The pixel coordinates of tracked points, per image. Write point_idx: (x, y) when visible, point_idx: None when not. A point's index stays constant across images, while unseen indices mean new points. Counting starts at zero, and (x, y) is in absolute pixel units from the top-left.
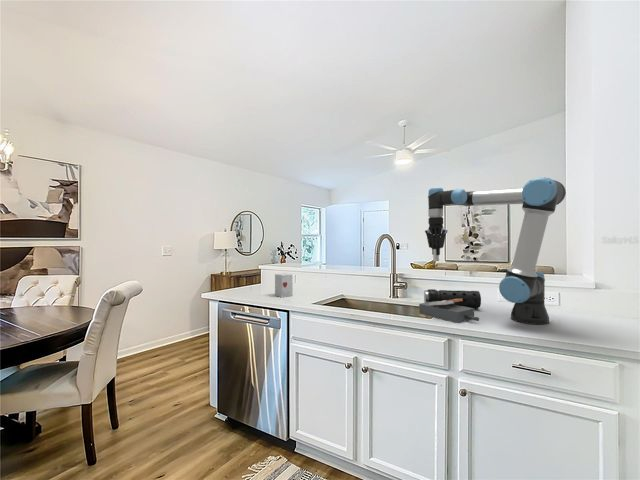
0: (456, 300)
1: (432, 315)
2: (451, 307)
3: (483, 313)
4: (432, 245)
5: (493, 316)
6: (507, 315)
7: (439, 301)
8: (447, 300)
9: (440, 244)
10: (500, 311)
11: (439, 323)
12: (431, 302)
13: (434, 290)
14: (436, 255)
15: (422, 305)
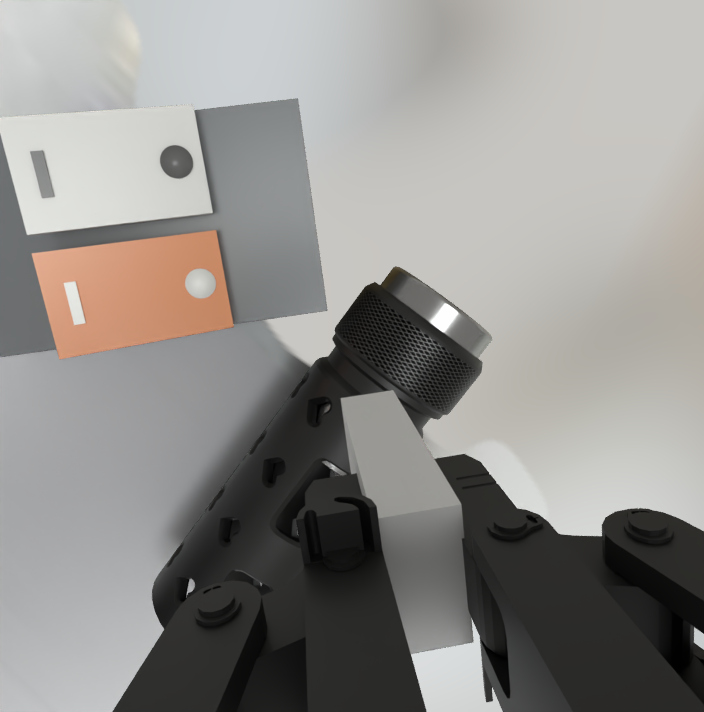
0: (39, 276)
1: None
2: (77, 234)
3: (116, 507)
4: (546, 576)
5: (29, 499)
6: (18, 590)
7: (162, 198)
8: (140, 267)
9: (148, 692)
10: (116, 634)
11: (4, 27)
12: (190, 133)
13: (392, 365)
14: (356, 471)
15: (264, 103)
